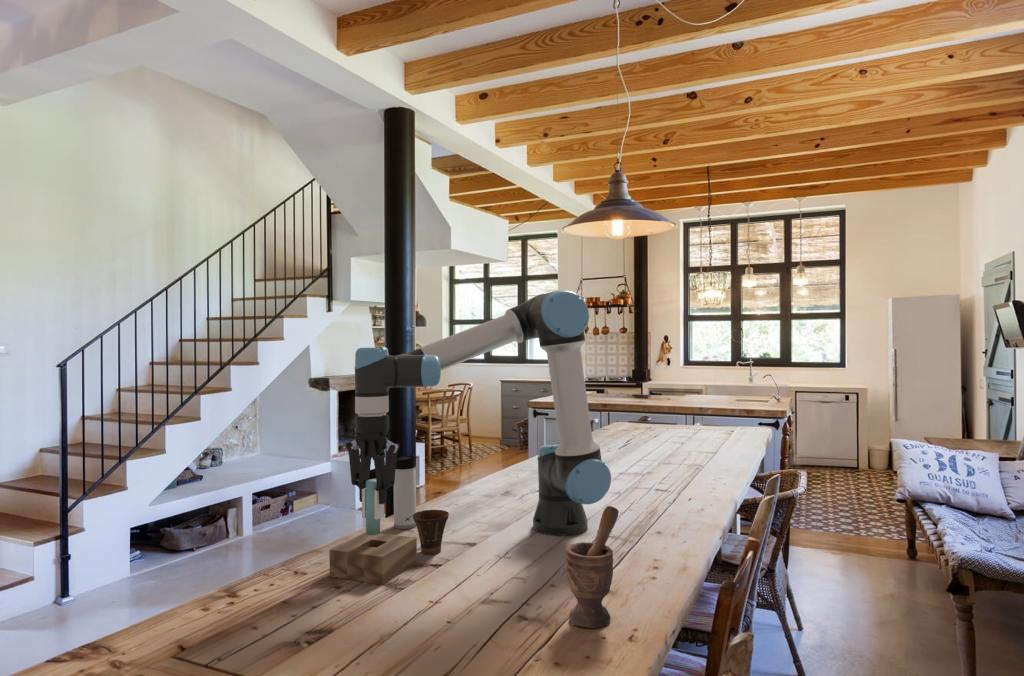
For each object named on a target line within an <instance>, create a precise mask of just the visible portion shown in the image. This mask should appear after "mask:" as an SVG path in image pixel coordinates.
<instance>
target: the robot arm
mask: <svg viewBox="0 0 1024 676" xmlns="http://www.w3.org/2000/svg"><path fill="white" fill-rule="evenodd" d="M589 319H590V311H589V307H588V306H587V303H586V302H585V299H583V298H582V297H581V296H580V295H579V294H578V293H576V292H573V291H570V290H561V289H560V290H554V291H551V292H547V293H541V294H538V295H534V297H531V298H530V299H527V300H526V301H524V302H523V303H520V304H518V305H516V306H513V307H512V308H508V309H506V310H505V312H504V315H501V316H498V317H496V318H493V319H490V320H488V321H484V322H482V323H480V324H478V325H475V326H473V327H470V328H468V329H465V330H463V331H460V332H457V333H454V334H452V335H449V336H447V337H445V338H442V339H440V340H436V341H434V342H432V343H429V344H425V345H423V346H421V347H419V348H417V349H413V350H411V351H409V352H406V353H400V354H398V355H390V353H389V349H388V348H387V347H384V346H383V347H359V348H357V350H356V351H355V353H354V355H355V358H354V390H355V391H354V392H355V397H354V404H355V405H354V412H355V414H356V416H355V420H354V422H355V426H354V427H355V429H354V430H355V432H356V436H355V439H353V440H352V441H348V442H346V443H345V447H346V451H347V452H348V461H349V468H350V471H349V472H350V480H351V484H352V486H356V487H358V489H359V491H358V492H359V493H358V494H359V496H358V497H359V502H360V503H361V518H362V519H366V481H367V480H370V475H371V474H370V473H371V467H372V466H371V465H372V461H373V464H374V471H375V479H376V481H377V488H376V490H374V510H375V519H380V520H381V518H384V517H385V504H386V503H387V501H388V498H387V497H388V493H387V490H388V489H389V488H390V487H394V486H393V485H394V483H395V470H396V458H398V457H397V455H398V452H399V450H400V444H399V443H394V442H393V441H390V440H391V439H390V436H389V430H390V416H389V415H388V414H387V413H388V412H389V409H390V407H389V404H390V401H389V394H390V393H389V391H390V390H389V389H390V388H392V389H393V388H427V387H436V386H438V385H439V383H440V381H441V372H442V371H444V370H446V369H449V368H451V367H454V366H456V365H458V364H461V363H464V362H466V361H468V360H471V359H474V358H476V357H479V356H481V355H484V354H486V353H488V352H492V351H493V350H496V349H498V348H501V347H504V346H506V345H508V344H511V343H513V342H516V343H518V344H522V343H523V342H526V341H529V340H534V339H538V341H539V342H538V343H539V347H540V348H541V349H542V350H543V351H544V352H546V357H547V364H548V370H549V371H548V372H549V378H550V384H551V385H550V386H551V392H552V393H551V394H552V398H553V405H554V407H553V408H554V411H555V413H554V415H555V420H556V429H557V435H558V442H559V444H558V443H557V444H546V445H545V444H544V445H542V446H540V447H539V448H538V450H537V451H538V452H537V453H538V454H537V469H538V471H537V472H538V473H537V475H538V480H537V481H538V502H537V505H536V508H535V511H534V516H533V519H532V529H534V530H535V531H536V532H538V533H540V534H545V535H550V536H551V535H552V536H572V535H577V534H581V533H584V532H585V531H587V530H588V526H589V524H588V518H587V514H586V511H585V508H584V505H593V504H595V503H598V502H600V501H601V500H603V498H604V497H605V496H606V495H607V493H608V492H609V490H610V487H611V484H612V473H611V470H610V468H609V467H608V465H607V464H606V463H605V462H604V461H603V460H602V455H601V453H602V452H601V448H600V447H601V446H600V445H599V444H598V443H596V442H595V441H594V440H593V431H592V425H591V418H590V410H589V404H588V403H589V402H588V396H587V389H586V388H587V387H586V381H585V380H586V379H585V375H584V366H583V359H582V351H581V348H582V347H583V344H584V343H585V342H586V336H585V330H586V328H587V326H588V325H589Z"/></svg>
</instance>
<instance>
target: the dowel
mask: <svg viewBox="0 0 1024 676" xmlns="http://www.w3.org/2000/svg"><path fill="white" fill-rule="evenodd" d="M376 488H377V481H376V478H373V479H369V480H367V481H366V518H365V532H366V535H378V534H380V533H381V518H380V519H375V510H374V490H376Z"/></svg>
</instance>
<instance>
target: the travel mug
mask: <svg viewBox="0 0 1024 676" xmlns="http://www.w3.org/2000/svg"><path fill="white" fill-rule="evenodd" d="M417 456H418V455H415V454H413V455H405V456H400V457H397V458H396V470H395V483H394V485H393V486H392V487H393V527H394V528H395V529H397V530H410V529H413V528H415V527H417V526H416V524H415V521H414V519H413V514H415V513H416V512H417V480H416V479H417V471H416V470H417V469H416V468H417V467H416V459H417V458H418V457H417Z"/></svg>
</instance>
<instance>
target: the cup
mask: <svg viewBox="0 0 1024 676" xmlns="http://www.w3.org/2000/svg"><path fill="white" fill-rule="evenodd" d="M449 515H450V512H448V511H447V510H445V509H444V510H443V509H425V510H421V511H416V513H415V514H413V519H414V521H415V524H416V526H415V527H416V530H417V532H418V537H419V543H420V553H422V554H423V555H436V554H439V553H441V552H442V542H443V536H444V531H445V528H446V524H447V521H448V519H449V517H450V516H449Z"/></svg>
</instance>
